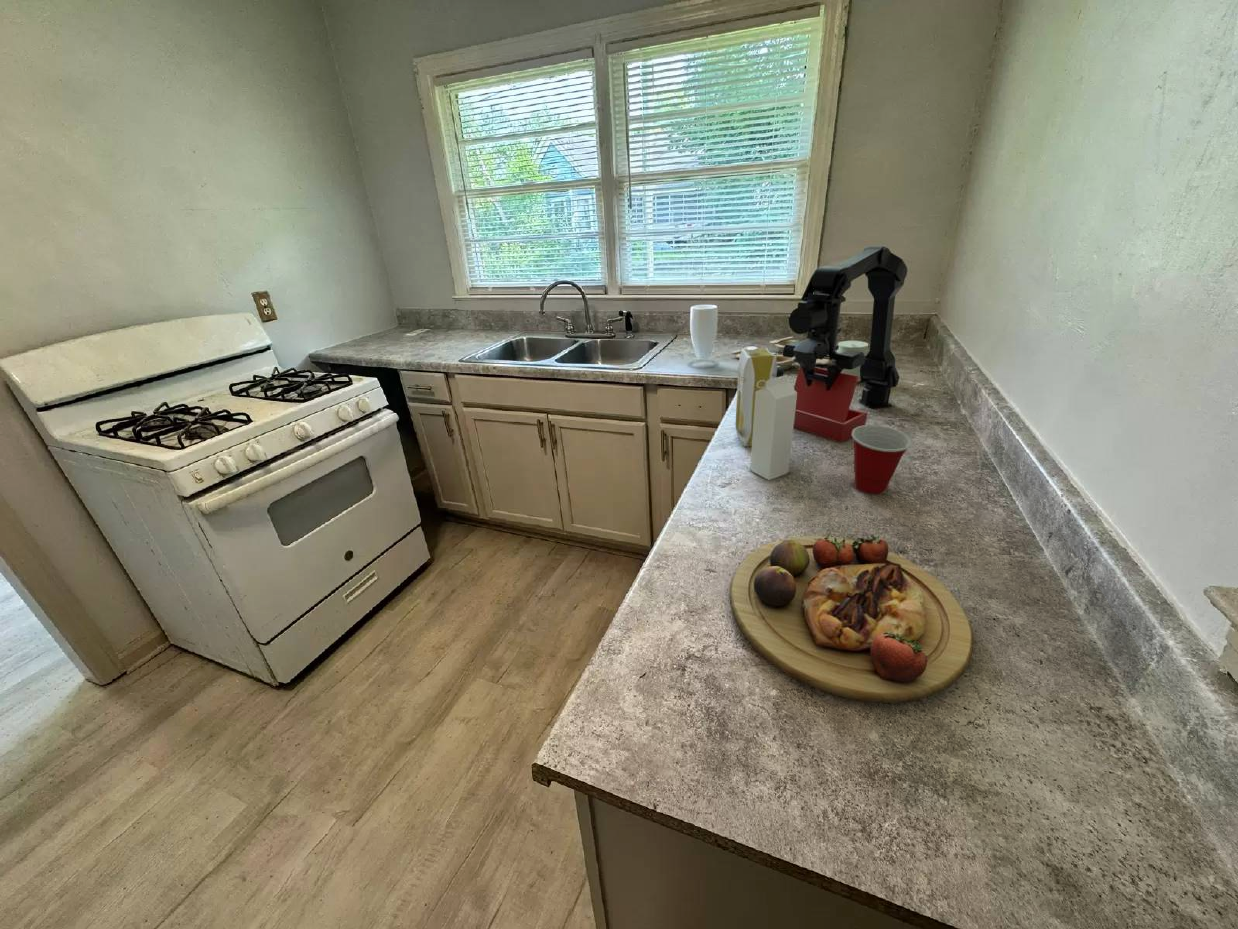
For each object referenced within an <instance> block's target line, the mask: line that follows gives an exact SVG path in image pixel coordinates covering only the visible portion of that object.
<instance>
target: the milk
mask: <svg viewBox="0 0 1238 929" xmlns="http://www.w3.org/2000/svg"><path fill="white" fill-rule="evenodd" d="M788 379H789V375H788V374H784V376H781V377H777V378H773V379H770V380H767V382H766V388H763V389H761V390H758V391H756V394H755V408H754V422H753V437H752V446H751V453H750V465H749V467H750V468H749V470H750V471H751V472H753V473H755V474H756V475H758V476H760V477H762V478H764V479H766V480H767V481H772V480H774V479H777V478H780V477H781V476H784V475H788V474H789V472H790V462H791V453H792V445H793V444H792V443H793V434H794V428H795V427H794V418H795V409H796V400H797V392H796V391H795V390H794V387H793V386H792V385H791V384H790V383H789V380H788Z"/></svg>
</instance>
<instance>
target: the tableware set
mask: <svg viewBox="0 0 1238 929" xmlns="http://www.w3.org/2000/svg"><path fill="white" fill-rule="evenodd" d="M794 341H798V340H797V339H795V340H794V336H788V337H785V338H780V339H777V340H770V341H769V344H772V345H774V347H776V348H778V350H779V352H781V353H783V348H784V346H785V345H786V344H789V343H792V342H794ZM749 347H752V346H751V345H747V346H745V347H744V348H741V349H738V350H735V351H731V354H732V355H734V357H735V358H737V359H740V355H741V350H745V349H747V348H749ZM771 353H772V354H773V355H775V356H776V359H777V366H779V367H782V368H783V369H784V370H788V369H790V368H791V367H792V365H795V364H798V363H797V362H795V361H794V360H793V359H795V356H794V357H792V358H790V357H785V356H783V355H782V354H778V353H777V352H771ZM831 363H832V360H828V359H822V360H821V359H817V360H816V365H815V366H824V365H825V366H827V365H831Z"/></svg>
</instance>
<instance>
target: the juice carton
mask: <svg viewBox="0 0 1238 929" xmlns="http://www.w3.org/2000/svg"><path fill="white" fill-rule="evenodd" d="M744 349H745V348H744ZM740 350H741V355H740V359H739V358H738V359H739V360H738V366H737V368H738V369H737V371H738V372H737V386H736V406H735V430H736V435H737V437H738V438H739V440H740V442H741V444H742V446H743V447H752V437H753V422H754V408H755V394H756V391H758V390H761V389H763V388H766V382H767V380H770V379H773V378H776V376H777V359H776V356H775V355H773V354H772V353H773V352H771V351H770V350H769V348H766V347H764V348H761V347H759V348H758V347H757V346H751V347H749V348H747V349H745V350H742V349H740Z"/></svg>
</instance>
